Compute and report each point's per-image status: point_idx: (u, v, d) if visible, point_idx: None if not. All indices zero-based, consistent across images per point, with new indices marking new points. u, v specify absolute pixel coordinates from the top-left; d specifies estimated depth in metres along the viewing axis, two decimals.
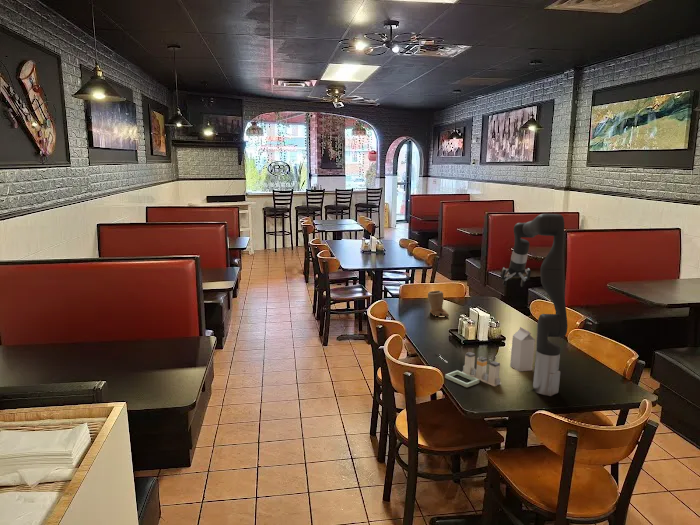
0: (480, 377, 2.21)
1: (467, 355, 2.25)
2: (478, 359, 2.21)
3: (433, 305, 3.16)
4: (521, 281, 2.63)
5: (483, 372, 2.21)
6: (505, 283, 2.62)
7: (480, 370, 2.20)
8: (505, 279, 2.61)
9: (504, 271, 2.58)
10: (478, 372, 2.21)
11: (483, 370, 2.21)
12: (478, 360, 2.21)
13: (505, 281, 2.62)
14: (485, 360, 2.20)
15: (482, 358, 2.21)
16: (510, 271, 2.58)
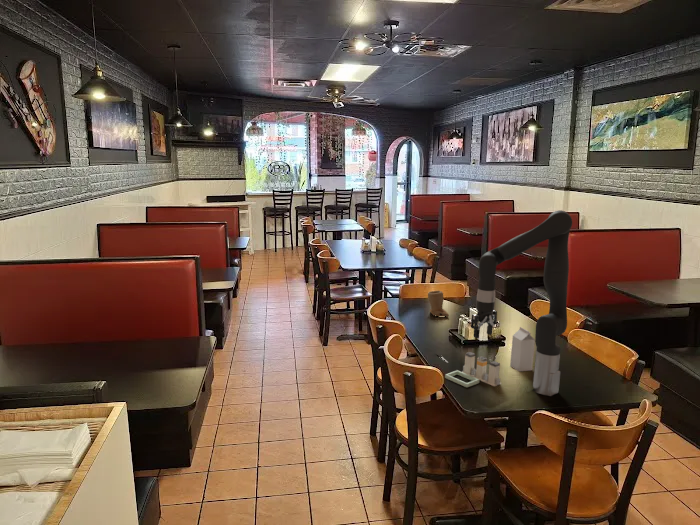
0: (480, 377, 2.21)
1: (467, 355, 2.25)
2: (478, 359, 2.21)
3: (433, 305, 3.16)
4: (488, 328, 2.22)
5: (483, 372, 2.21)
6: (478, 333, 2.16)
7: (480, 370, 2.20)
8: (478, 328, 2.15)
9: (477, 317, 2.14)
10: (478, 372, 2.21)
11: (483, 370, 2.21)
12: (478, 360, 2.21)
13: (477, 331, 2.16)
14: (485, 360, 2.20)
15: (482, 358, 2.21)
16: (481, 316, 2.15)
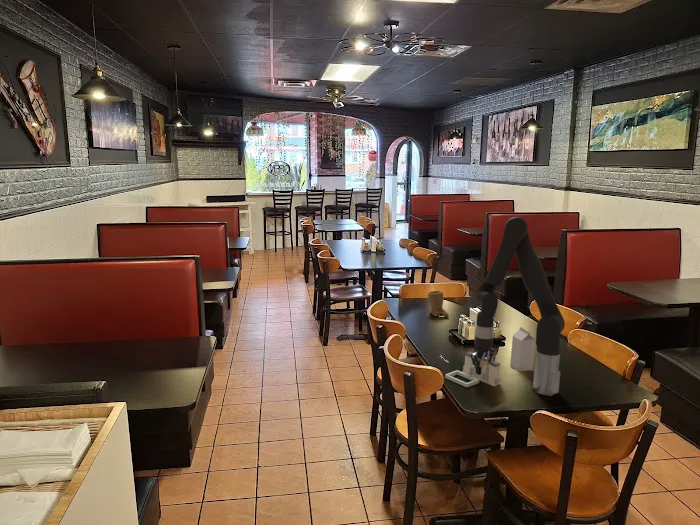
0: (480, 377, 2.21)
1: (467, 355, 2.25)
2: None
3: (433, 305, 3.16)
4: None
5: (483, 372, 2.21)
6: (480, 370, 2.20)
7: None
8: (480, 365, 2.19)
9: (476, 357, 2.16)
10: None
11: (483, 370, 2.21)
12: None
13: (480, 368, 2.20)
14: (485, 360, 2.20)
15: None
16: (480, 354, 2.18)
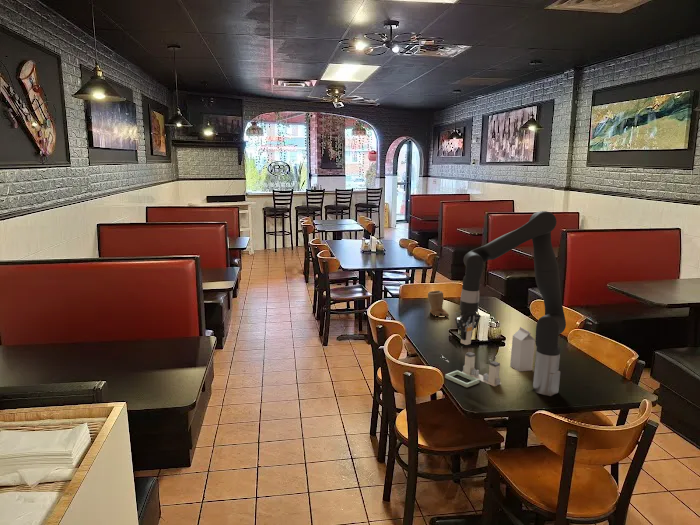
0: (465, 342, 2.16)
1: (467, 355, 2.25)
2: None
3: (433, 305, 3.16)
4: None
5: (468, 337, 2.16)
6: (465, 335, 2.15)
7: None
8: (465, 330, 2.14)
9: (460, 321, 2.11)
10: None
11: (468, 335, 2.16)
12: None
13: (464, 333, 2.15)
14: (470, 325, 2.15)
15: None
16: (464, 319, 2.13)
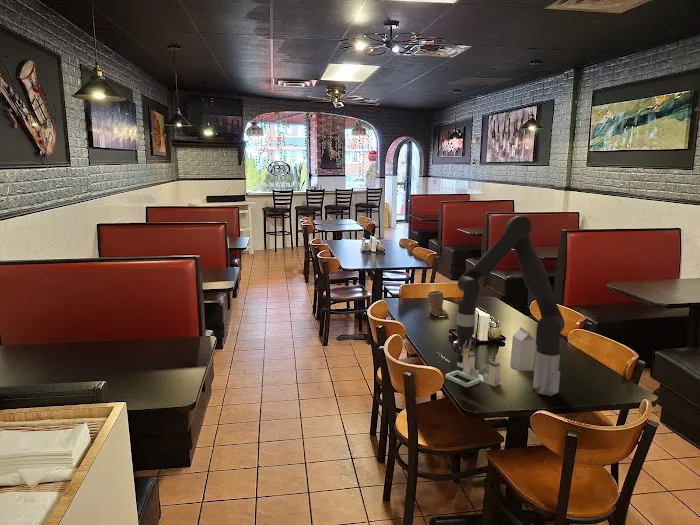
0: (461, 365, 2.17)
1: None
2: None
3: (433, 305, 3.16)
4: None
5: (464, 360, 2.17)
6: (462, 359, 2.16)
7: None
8: (461, 353, 2.15)
9: (457, 345, 2.12)
10: None
11: (465, 358, 2.17)
12: None
13: (461, 356, 2.16)
14: (467, 348, 2.16)
15: None
16: (461, 342, 2.14)
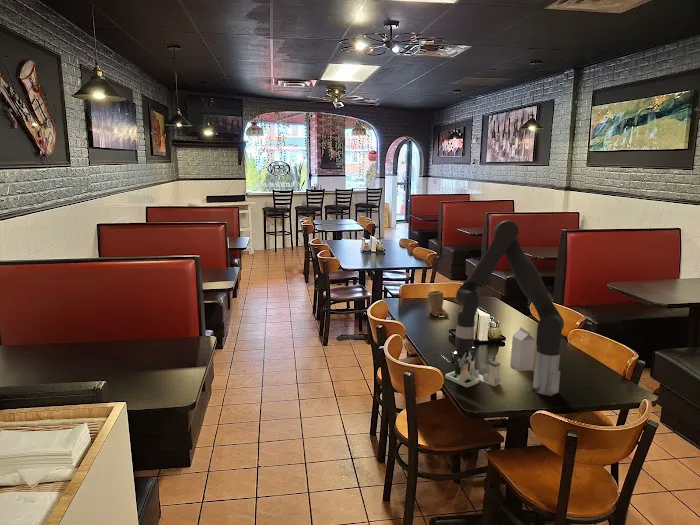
0: None
1: None
2: None
3: (433, 305, 3.16)
4: None
5: (464, 376, 2.18)
6: (459, 370, 2.16)
7: (461, 374, 2.17)
8: (459, 365, 2.15)
9: (456, 356, 2.12)
10: (459, 376, 2.18)
11: (464, 374, 2.17)
12: None
13: (459, 368, 2.16)
14: (466, 364, 2.17)
15: (463, 362, 2.17)
16: (460, 353, 2.14)
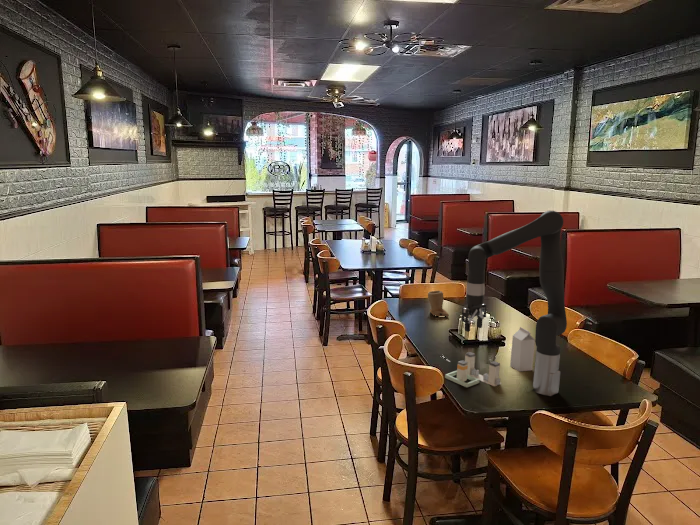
0: None
1: (467, 355, 2.25)
2: (458, 363, 2.18)
3: (433, 305, 3.16)
4: (478, 321, 2.23)
5: (463, 376, 2.18)
6: (469, 327, 2.17)
7: (460, 374, 2.18)
8: (469, 321, 2.16)
9: (467, 311, 2.14)
10: (458, 376, 2.19)
11: (464, 374, 2.18)
12: (458, 364, 2.18)
13: (468, 324, 2.17)
14: (465, 364, 2.17)
15: (462, 362, 2.18)
16: (472, 310, 2.16)
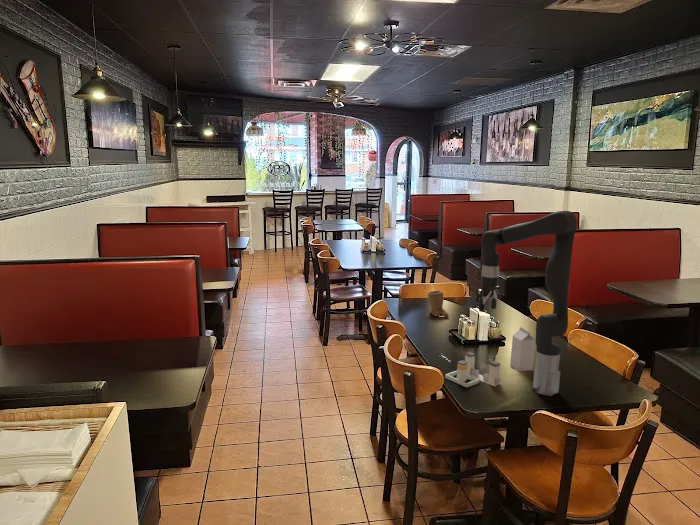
0: None
1: (467, 355, 2.25)
2: (458, 363, 2.18)
3: (433, 305, 3.16)
4: (492, 303, 2.33)
5: (463, 376, 2.18)
6: (483, 307, 2.27)
7: (460, 374, 2.18)
8: (483, 302, 2.26)
9: (482, 292, 2.24)
10: (458, 376, 2.19)
11: (464, 374, 2.18)
12: (458, 364, 2.18)
13: (483, 305, 2.27)
14: (465, 364, 2.17)
15: (462, 362, 2.18)
16: (486, 291, 2.26)
